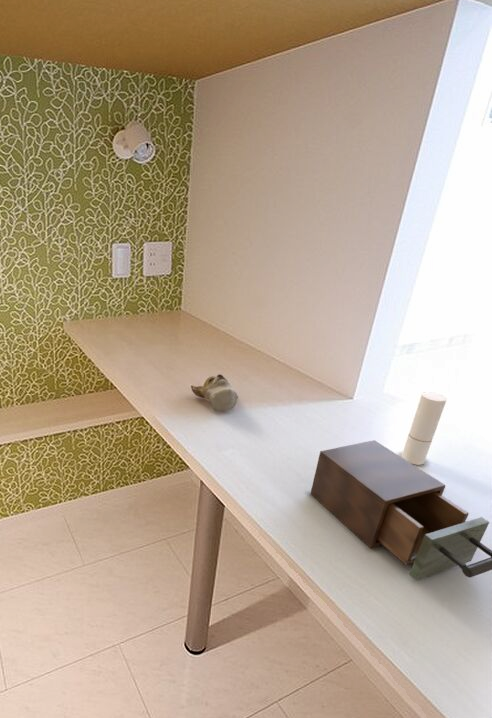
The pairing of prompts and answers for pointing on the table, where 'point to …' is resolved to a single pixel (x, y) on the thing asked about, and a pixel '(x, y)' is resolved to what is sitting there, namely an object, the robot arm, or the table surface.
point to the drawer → (434, 536)
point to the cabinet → (367, 485)
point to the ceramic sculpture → (217, 393)
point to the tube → (423, 427)
